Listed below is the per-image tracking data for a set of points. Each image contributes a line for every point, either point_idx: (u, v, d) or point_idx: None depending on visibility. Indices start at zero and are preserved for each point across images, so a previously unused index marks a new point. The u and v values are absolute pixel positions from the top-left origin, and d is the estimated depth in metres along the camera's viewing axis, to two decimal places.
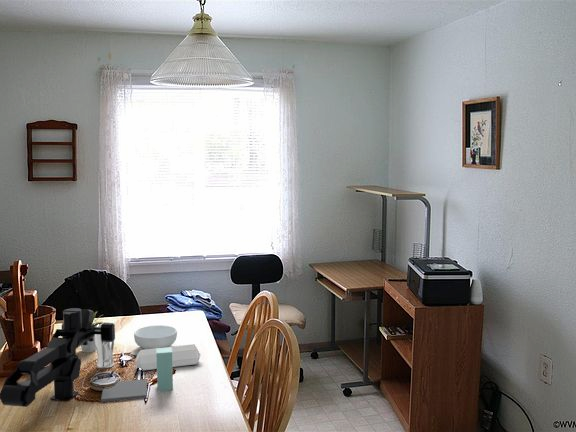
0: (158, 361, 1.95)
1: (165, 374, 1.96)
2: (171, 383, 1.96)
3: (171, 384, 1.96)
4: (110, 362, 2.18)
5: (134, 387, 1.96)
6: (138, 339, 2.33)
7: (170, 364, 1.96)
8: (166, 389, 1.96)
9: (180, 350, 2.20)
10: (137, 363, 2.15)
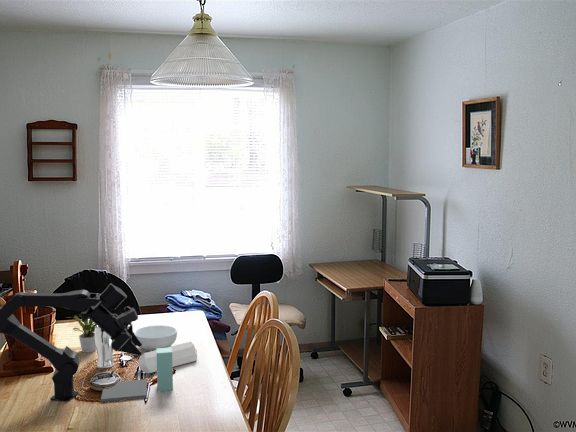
0: (158, 361, 1.95)
1: (165, 374, 1.96)
2: (171, 383, 1.96)
3: (171, 384, 1.96)
4: (110, 362, 2.18)
5: (134, 387, 1.96)
6: None
7: (170, 364, 1.96)
8: (166, 389, 1.96)
9: (180, 348, 2.21)
10: (142, 367, 2.11)
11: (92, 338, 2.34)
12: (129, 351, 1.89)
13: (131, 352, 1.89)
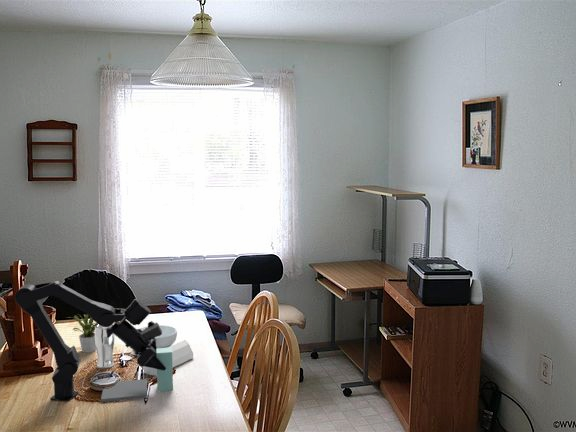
0: None
1: (165, 374, 1.96)
2: (171, 383, 1.96)
3: (171, 384, 1.96)
4: (110, 362, 2.18)
5: (134, 387, 1.96)
6: None
7: (170, 364, 1.96)
8: (166, 389, 1.96)
9: (179, 347, 2.23)
10: (151, 369, 2.09)
11: (92, 338, 2.34)
12: (154, 366, 1.91)
13: (156, 366, 1.91)
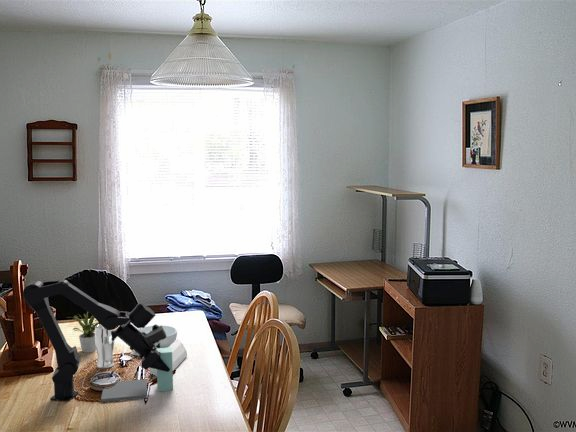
0: None
1: (165, 374, 1.96)
2: (171, 383, 1.96)
3: (171, 384, 1.96)
4: (110, 362, 2.18)
5: (134, 387, 1.96)
6: None
7: (170, 364, 1.96)
8: (166, 389, 1.96)
9: (176, 346, 2.23)
10: None
11: (92, 338, 2.34)
12: (158, 367, 1.93)
13: (160, 368, 1.94)
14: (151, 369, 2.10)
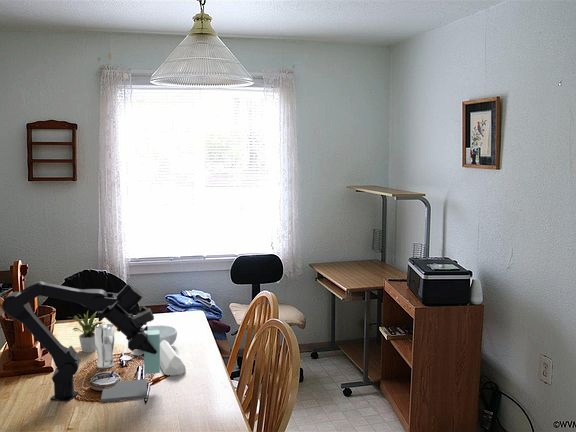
0: None
1: (152, 356, 1.94)
2: (158, 366, 1.95)
3: (158, 367, 1.95)
4: (110, 362, 2.18)
5: (134, 387, 1.96)
6: None
7: (157, 346, 1.94)
8: (153, 372, 1.95)
9: (170, 346, 2.24)
10: (180, 368, 2.10)
11: (92, 338, 2.34)
12: (145, 349, 1.92)
13: (147, 350, 1.92)
14: (168, 370, 2.09)
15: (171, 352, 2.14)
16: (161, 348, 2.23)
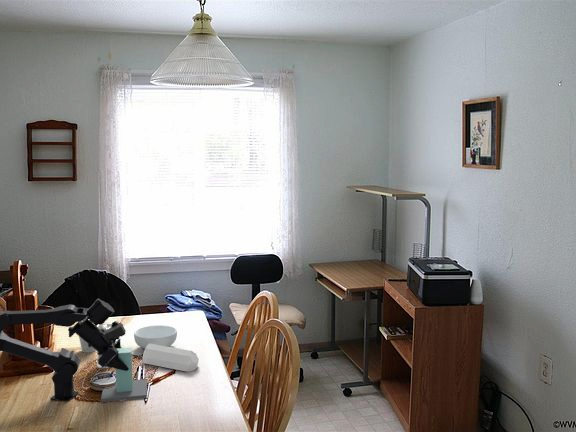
0: None
1: (124, 375, 1.92)
2: (130, 384, 1.93)
3: (130, 385, 1.93)
4: None
5: (134, 387, 1.96)
6: (138, 339, 2.33)
7: (129, 364, 1.92)
8: (125, 390, 1.93)
9: None
10: (197, 362, 2.16)
11: None
12: (116, 366, 1.88)
13: (118, 367, 1.89)
14: (189, 366, 2.13)
15: (180, 350, 2.17)
16: (155, 351, 2.20)
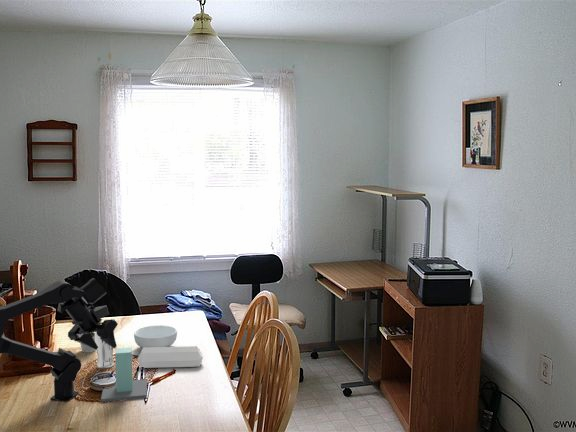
0: (117, 361, 1.91)
1: (124, 375, 1.92)
2: (130, 384, 1.93)
3: (130, 385, 1.93)
4: (110, 362, 2.18)
5: (134, 387, 1.96)
6: (138, 339, 2.33)
7: (129, 364, 1.92)
8: (125, 390, 1.93)
9: None
10: None
11: None
12: (110, 341, 1.93)
13: (111, 342, 1.94)
14: (198, 361, 2.18)
15: (184, 347, 2.20)
16: (155, 353, 2.18)
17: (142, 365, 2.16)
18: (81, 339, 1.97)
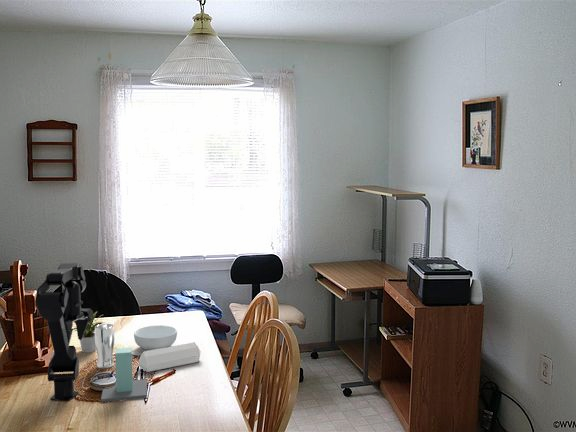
0: (117, 361, 1.91)
1: (124, 375, 1.92)
2: (130, 384, 1.93)
3: (130, 385, 1.93)
4: (110, 362, 2.18)
5: (134, 387, 1.96)
6: (138, 339, 2.33)
7: (129, 364, 1.92)
8: (125, 390, 1.93)
9: None
10: None
11: (92, 338, 2.34)
12: None
13: None
14: (199, 355, 2.24)
15: (183, 345, 2.22)
16: (158, 355, 2.16)
17: (148, 369, 2.12)
18: None
